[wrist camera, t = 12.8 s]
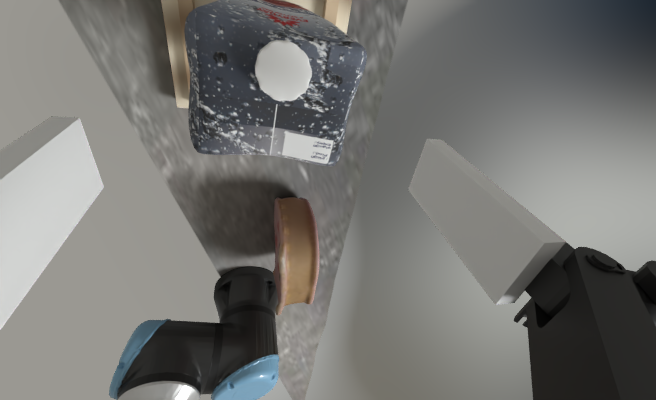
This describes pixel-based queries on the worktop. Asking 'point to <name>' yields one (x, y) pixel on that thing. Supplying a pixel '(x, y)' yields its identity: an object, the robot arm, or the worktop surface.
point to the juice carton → (269, 80)
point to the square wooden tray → (178, 3)
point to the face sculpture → (295, 252)
